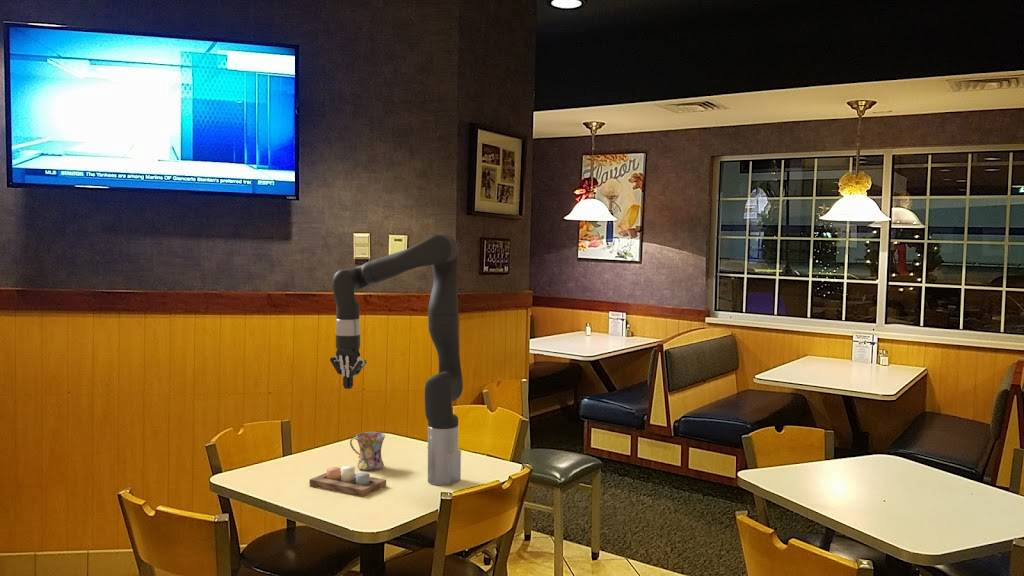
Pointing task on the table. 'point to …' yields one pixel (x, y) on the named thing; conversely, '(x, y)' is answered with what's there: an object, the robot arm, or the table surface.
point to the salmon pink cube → (333, 473)
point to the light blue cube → (362, 479)
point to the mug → (369, 450)
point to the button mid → (347, 474)
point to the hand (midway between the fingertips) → (348, 388)
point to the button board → (347, 485)
